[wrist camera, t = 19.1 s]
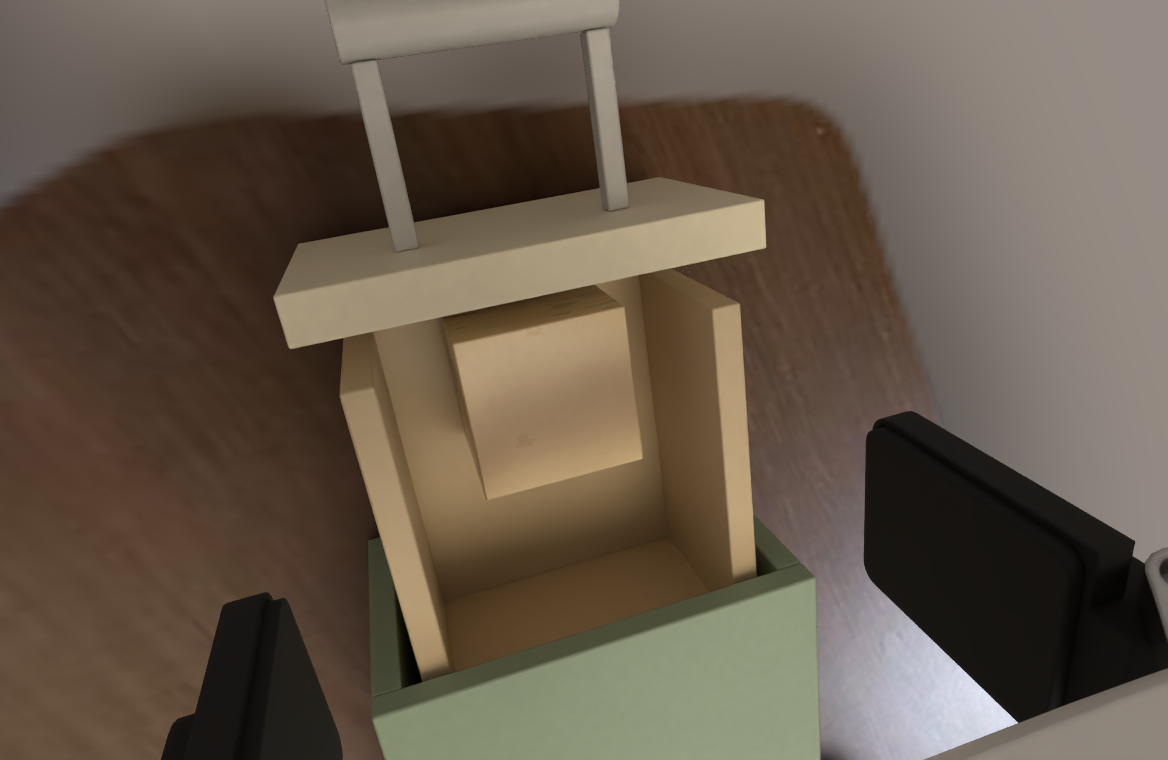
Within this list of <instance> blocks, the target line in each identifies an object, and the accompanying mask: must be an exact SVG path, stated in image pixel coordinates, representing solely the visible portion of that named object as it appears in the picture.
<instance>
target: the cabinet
mask: <svg viewBox="0 0 1168 760" xmlns="http://www.w3.org/2000/svg"><path fill="white" fill-rule="evenodd" d="M753 523H754V539H755V555H756V571H757V577H756V578H753V579H750V580H747V581H743V582H740V583H737V584H734V585H731V586H727V587H724V588H721V589H718V590H715V591H711V592H708V593H705V594H702V595H699V596H696V597H692V598H689V599H686V600H683V601H680V602H676V603H673V604H670V605H667V606H664V607H660V608H657V609H654V610H651V611H648V612H645V613H641V614H638V615H635V616H632V617H629V618H625V619H622V620H619V621H616V622H613V623H610V624H606V625H603V626H600V627H597V628H594V629H590V630H587V631H584V632H581V633H578V634H574V635H571V636H568V637H565V638H562V639H559V640H555V641H552V642H549V643H546V644H543V645H539V646H536V647H533V648H530V649H527V650H523V651H520V652H517V653H514V654H511V655H508V656H504V657H501V658H498V659H495V660H492V661H488V662H485V663H482V664H479V665H476V666H472V667H469V668H466V669H463V670H460V671H457V672H453V673H450V674H447V675H444V676H441V677H437V678H434V679H431V680H428V681H425V682H422V679H421V676H420V672H419V669H418V665H417V662H416V658H415V655H414V651H413V648H412V644H411V641H410V638H409V634H408V631H407V627H406V624H405V620H404V617H403V613H402V610H401V607H400V603H399V600H398V596H397V593H396V589H395V586H394V582H393V579H392V576H391V572H390V569H389V565H388V562H387V558H386V555H385V551H384V548H383V545H382V541H381V538H380V537H379V538H375V539H372V540H369V541H368V552H369V554H368V558H369V612H370V666H371V698H372V702H371V704H372V722H373V725H374V728H375V731H376V734H377V737H378V740H379V743H380V746H381V749H382V752H383V755H384V758H385V760H821V759H820V720H819V682H818V643H817V604H816V578H815V576H814V575H813V574H812V573H811V572H810V571H809V570H808V569H807V568H806V567H805V566H804V565H803V564H801V563H800V561H799V560H798V559H797V558H796V557H795V556H794V555H793V554H792V553H791V552H790V551H789V550H788V549H787V548H786V547H785V546H784V545H783V544H782V543H781V542H780V540H779V539H778V538H777V537H776V536H775V535H774V534H773V533H772V532H771V531H770V530H769V529H768V528H767V527H766V526H765V525H764V524H763V523H762V522H761V521H760V520H759V519H758V518H757V517H756V516H755V515H754V514H753Z"/></svg>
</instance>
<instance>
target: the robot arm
mask: <svg viewBox="0 0 1168 760" xmlns="http://www.w3.org/2000/svg"><path fill="white" fill-rule="evenodd" d="M1134 545H1135V541H1134V540H1132V539H1130V538H1129V537H1127V536H1125V535H1124V534H1122V533H1120V532H1119V531H1117V530H1115V529H1113V528H1112V527H1110V526H1108V525H1107V524H1105V523H1103V522H1102V521H1100V520H1098V519H1096V518H1095V517H1093V516H1091V515H1090V514H1088V513H1086V512H1084V511H1083V510H1081V509H1079V508H1078V507H1076V506H1074V505H1073V504H1071V503H1069V502H1067V501H1066V500H1064V499H1062V498H1061V497H1059V496H1057V495H1055V494H1054V493H1052V492H1050V491H1049V490H1047V489H1045V488H1043V487H1042V486H1040V485H1038V484H1037V483H1035V482H1033V481H1032V480H1030V479H1028V478H1027V477H1025V476H1023V475H1021V474H1020V473H1018V472H1016V471H1015V470H1013V469H1011V468H1009V467H1008V466H1006V465H1004V464H1003V463H1001V462H999V461H997V460H996V459H994V458H992V457H991V456H989V455H987V454H986V453H984V452H982V451H980V450H979V449H977V448H975V447H974V446H972V445H970V444H969V443H967V442H965V441H963V440H962V439H960V438H958V437H957V436H955V435H953V434H951V433H950V432H948V431H946V430H945V429H943V428H941V427H940V426H938V425H936V424H934V423H933V422H931V421H929V420H928V419H926V418H924V417H922V416H921V415H919V414H917V413H915V412H912V411H907V412H903V413H900V414H896V415H893V416H889V417H885V418H882V419H879V420H877V421H876V422H875V424H874V426H873V430H872V431H870V432H869V433H868V434H867V438H866V469H865V521H864V566H865V569H866V572H867V574H868V576H869V578H870V579H871V581H872V582H873V583H874V584H875V585H876V586H877V587H878V588H879V589H880V590H881V591H882V592H883V593H884V594H885V595H886V596H887V597H888V598H889V599H890V600H891V601H892V602H894V603H895V604H896V605H897V606H898V607H899V608H900V609H901V610H902V611H903V612H904V613H905V614H906V615H907V616H908V617H909V618H910V619H911V620H912V621H913V622H914V623H915V624H916V625H917V626H918V627H919V628H920V629H922V630H923V631H924V632H925V633H926V634H927V635H928V636H929V637H930V638H931V639H932V640H933V641H934V642H935V643H936V644H937V645H938V646H939V647H940V648H941V649H942V650H943V651H944V652H945V653H946V654H947V655H949V656H950V657H951V658H952V659H953V660H954V661H955V662H956V663H957V664H958V665H959V666H960V667H961V668H962V669H963V670H964V671H965V672H966V673H967V674H968V675H969V676H970V677H971V678H972V679H973V680H974V681H975V682H977V683H978V684H979V685H980V686H981V687H982V688H983V689H984V690H985V691H986V692H987V693H988V694H989V695H990V696H991V697H992V698H993V699H994V700H995V701H996V702H997V703H998V704H999V705H1000V706H1001V707H1002V708H1003V709H1005V710H1006V711H1007V712H1008V713H1009V714H1010V715H1011V716H1012V717H1013V718H1014V719H1015V720H1016V721H1017V722H1018V724H1015V725H1013V726H1010V727H1007V728H1005V729H1002V730H1000V731H997V732H995V733H992V734H989V735H987V736H984V737H982V738H979V739H976V740H974V741H971V742H969V743H966V744H963V745H961V746H958V747H956V748H953V749H950V750H948V751H945V752H943V753H940V754H937V755H935V756H932V757H930V758H927V759H925V760H1168V548H1163V549H1161V550H1158V551H1156V552H1154V553H1152V554H1151V555H1150V556H1149V558H1148V559H1147V560H1146V562H1145V563H1143V562H1141V561H1140V560H1138V559H1136V558H1134V557H1133V556H1132V555H1133V549H1134ZM161 760H343V756H342V747H341V741H340V737H339V733H338V730H337V728H336V725H335V722H334V720H333V717H332V715H331V712H330V709H329V707H328V704H327V702H326V699H325V696H324V694H323V691H322V689H321V686H320V683H319V681H318V678H317V676H316V673H315V670H314V668H313V665H312V662H311V660H310V657H309V655H308V652H307V649H306V647H305V644H304V642H303V639H302V636H301V634H300V631H299V629H298V626H297V623H296V621H295V618H294V616H293V613H292V610H291V608H290V605H289V603H288V601H287V600H286V599H285V598H281V599H278V600H273V598H272V597H271V595H270V594H269V593H267V592H264V593H261V594H257V595H254V596H250V597H247V598H243V599H240V600H236V601H232V602H229V603H226V604H225V605H223V608H222V610H221V614H220V618H219V622H218V626H217V630H216V634H215V638H214V641H213V645H212V649H211V653H210V657H209V661H208V665H207V669H206V673H205V677H204V681H203V684H202V688H201V692H200V696H199V700H198V704H197V708H196V712H195V713H194V714H191V715H188V716H185V717H181V718H178V719H177V720H176V721H175V722H174V723H173V725H172V727H171V729H170V732H169V734H168V737H167V741H166V744H165V748H164V751H163V754H162V758H161Z"/></svg>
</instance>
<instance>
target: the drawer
mask: <svg viewBox="0 0 1168 760" xmlns="http://www.w3.org/2000/svg"><path fill="white" fill-rule="evenodd" d="M325 2H326V7H327V11H328V15H329V20H330V24H331V28H332V32H333V36H334V40H335V44H336V48H337V52H338V56H339V59H340V63H341V64H342V65H345V64H351V70H352V74H353V79H354V83H355V87H356V91H357V95H358V100H359V103H360V108H361V112H362V116H363V121H364V125H365V129H366V133H367V137H368V141H369V146H370V150H371V154H372V158H373V162H374V166H375V171H376V175H377V179H378V183H379V187H380V191H381V196H382V200H383V204H384V208H385V212H386V217H387V221H388V225H389V227H387V228H382V229H376V230H371V231H366V232H360V233H355V234H349V235H344V236H339V237H333V238H328V239H322V240H317V241H312V242H306V243H301V244H298V246H297V248H296V250H295V252H294V254H293V256H292V258H291V261H290V263H289V265H288V267H287V269H286V271H285V273H284V276H283V278H282V280H281V282H280V284H279V286H278V288H277V290H276V293H275V295H274V298H273V299H274V302H275V305H276V308H277V312H278V315H279V318H280V321H281V324H282V328H283V331H284V334H285V337H286V341H287V344H288V347H289V348H290V349H294V348H298V347H303V346H308V345H313V344H317V343H322V342H327V341H331V340H336V339H341V338H344V341H343V355H342V368H341V382H340V400H341V403H342V407H343V410H344V414H345V417H346V420H347V424H348V427H349V431H350V434H351V438H352V441H353V445H354V448H355V451H356V455H357V458H358V462H359V465H360V469H361V472H362V476H363V479H364V482H365V486H366V489H367V493H368V496H369V500H370V503H371V507H372V510H373V513H374V517H375V520H376V524H377V527H378V531H379V534H380V538H381V541H382V545H383V548H384V551H385V555H386V558H387V562H388V565H389V569H390V572H391V576H392V579H393V582H394V586H395V589H396V593H397V596H398V600H399V603H400V607H401V610H402V613H403V617H404V620H405V624H406V627H407V631H408V634H409V638H410V641H411V644H412V648H413V651H414V655H415V658H416V662H417V665H418V669H419V672H420V676H421V679H422V682H425V681H428V680H431V679H434V678H437V677H441V676H444V675H447V674H450V673H453V672H457V671H460V670H463V669H466V668H469V667H472V666H476V665H479V664H482V663H485V662H488V661H492V660H495V659H498V658H501V657H504V656H508V655H511V654H514V653H517V652H520V651H523V650H527V649H530V648H533V647H536V646H539V645H543V644H546V643H549V642H552V641H555V640H559V639H562V638H565V637H568V636H571V635H574V634H578V633H581V632H584V631H587V630H590V629H594V628H597V627H600V626H603V625H606V624H610V623H613V622H616V621H619V620H622V619H625V618H629V617H632V616H635V615H638V614H641V613H645V612H648V611H651V610H654V609H657V608H660V607H664V606H667V605H670V604H673V603H676V602H680V601H683V600H686V599H689V598H692V597H696V596H699V595H702V594H705V593H708V592H711V591H715V590H718V589H721V588H724V587H727V586H731V585H734V584H737V583H740V582H743V581H747V580H750V579H753V578H756V577H757V571H756V555H755V539H754V523H753V507H752V491H751V475H750V459H749V443H748V427H747V411H746V395H745V379H744V363H743V347H742V331H741V315H740V304H739V303H738V302H736V301H734V300H732V299H730V298H728V297H726V296H724V295H722V294H720V293H718V292H716V291H714V290H712V289H710V288H708V287H706V286H704V285H702V284H700V283H698V282H696V281H694V280H692V279H690V278H689V277H687V276H685V275H683V274H681V273H679V272H677V271H675V270H673V269H671V268H674V267H679V266H684V265H688V264H693V263H698V262H702V261H707V260H712V259H717V258H721V257H726V256H731V255H735V254H740V253H745V252H749V251H754V250H759V249H764V248H766V231H765V209H764V200H763V199H758V198H753V197H749V196H744V195H740V194H735V193H731V192H726V191H721V190H717V189H712V188H708V187H703V186H698V185H694V184H689V183H685V182H680V181H675V180H671V179H666V178H662V177H658V178H652V179H647V180H641V181H636V182H631V183H627V181H626V172H625V164H624V155H623V146H622V138H621V129H620V120H619V112H618V103H617V94H616V86H615V78H614V68H613V60H612V51H611V42H610V34H609V30H608V28H612V27H614V26H615V24H616V22H617V20H618V14H619V0H325ZM584 31H585V32H584ZM577 32H583V33H581V35H580V37H581V45H582V53H583V61H584V68H585V76H586V84H587V92H588V99H589V107H590V115H591V123H592V130H593V138H594V146H595V154H596V161H597V169H598V177H599V185H600V188H598V189H593V190H587V191H582V192H577V193H571V194H566V195H560V196H555V197H550V198H544V199H539V200H533V201H528V202H522V203H517V204H512V205H506V206H501V207H495V208H490V209H485V210H479V211H474V212H468V213H463V214H458V215H452V216H447V217H441V218H436V219H431V220H425V221H420V222H414V221H413V216H412V212H411V207H410V203H409V199H408V194H407V190H406V185H405V181H404V176H403V172H402V168H401V163H400V159H399V154H398V150H397V146H396V141H395V137H394V132H393V128H392V123H391V119H390V115H389V110H388V106H387V101H386V97H385V93H384V88H383V84H382V79H381V75H380V70H379V66H378V62H377V61H376V60H381V59H388V58H396V57H402V56H410V55H417V54H424V53H432V52H439V51H446V50H453V49H460V48H468V47H474V46H482V45H490V44H497V43H504V42H511V41H519V40H526V39H533V38H541V37H547V36H555V35H562V34H569V33H577ZM590 285H596V286H597V287H599V288H600V289H601V290H603V291H604V292H605V293H607V294H608V295H609V296H611V297H612V298H613V299H615V300H616V301H618V302H619V303H620V304H622V305H623V306H624V307H625V314H626V322H627V331H628V339H629V347H630V355H631V363H632V371H633V379H634V387H635V395H636V403H637V411H638V419H639V427H640V436H641V444H642V452H643V459H641V460H637V461H633V462H629V463H626V464H622V465H618V466H614V467H611V468H607V469H603V470H599V471H596V472H592V473H588V474H584V475H581V476H577V477H573V478H570V479H566V480H562V481H558V482H555V483H551V484H547V485H543V486H540V487H536V488H532V489H528V490H525V491H521V492H517V493H513V494H510V495H506V496H502V497H498V498H495V499H491V500H487V499H486V498H485V494H484V491H483V488H482V485H481V482H480V479H479V476H478V473H477V470H476V467H475V464H474V461H473V457H472V454H471V451H470V448H469V445H468V442H467V439H466V436H465V432H464V428H463V423H462V419H461V414H460V410H459V406H458V401H457V397H456V392H455V388H454V383H453V379H452V374H451V370H450V365H449V361H448V356H447V352H446V348H445V343H444V339H443V334H442V330H441V325H440V321H439V317H444V316H449V315H453V314H458V313H463V312H468V311H472V310H477V309H482V308H486V307H491V306H496V305H500V304H505V303H510V302H515V301H519V300H524V299H529V298H533V297H538V296H543V295H547V294H552V293H557V292H562V291H566V290H571V289H576V288H580V287H585V286H590Z"/></svg>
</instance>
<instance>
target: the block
mask: <svg viewBox="0 0 1168 760" xmlns="http://www.w3.org/2000/svg"><path fill="white" fill-rule="evenodd" d="M439 321H440V325H441V330H442V334H443V339H444V343H445V348H446V352H447V356H448V361H449V365H450V370H451V374H452V379H453V383H454V388H455V392H456V397H457V401H458V406H459V410H460V414H461V419H462V423H463V428H464V432H465V436H466V439H467V442H468V445H469V448H470V451H471V454H472V457H473V461H474V464H475V467H476V470H477V473H478V476H479V479H480V482H481V485H482V488H483V491H484V494H485V498H486V499H487V500H491V499H495V498H498V497H502V496H506V495H510V494H513V493H517V492H521V491H525V490H528V489H532V488H536V487H540V486H543V485H547V484H551V483H555V482H558V481H562V480H566V479H570V478H573V477H577V476H581V475H584V474H588V473H592V472H596V471H599V470H603V469H607V468H611V467H614V466H618V465H622V464H626V463H629V462H633V461H637V460H641V459H643V452H642V444H641V436H640V427H639V419H638V411H637V403H636V395H635V387H634V379H633V371H632V363H631V355H630V347H629V339H628V331H627V322H626V314H625V307H624V306H623V305H622V304H620V303H619V302H618V301H616V300H615V299H613V298H612V297H611V296H609V295H608V294H607V293H605V292H604V291H603V290H601V289H600V288H599V287H597V286H596V285H590V286H585V287H580V288H576V289H571V290H566V291H562V292H557V293H552V294H547V295H543V296H538V297H533V298H529V299H524V300H519V301H515V302H510V303H505V304H500V305H496V306H491V307H486V308H482V309H477V310H472V311H468V312H463V313H458V314H453V315H449V316H444V317H439Z"/></svg>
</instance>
